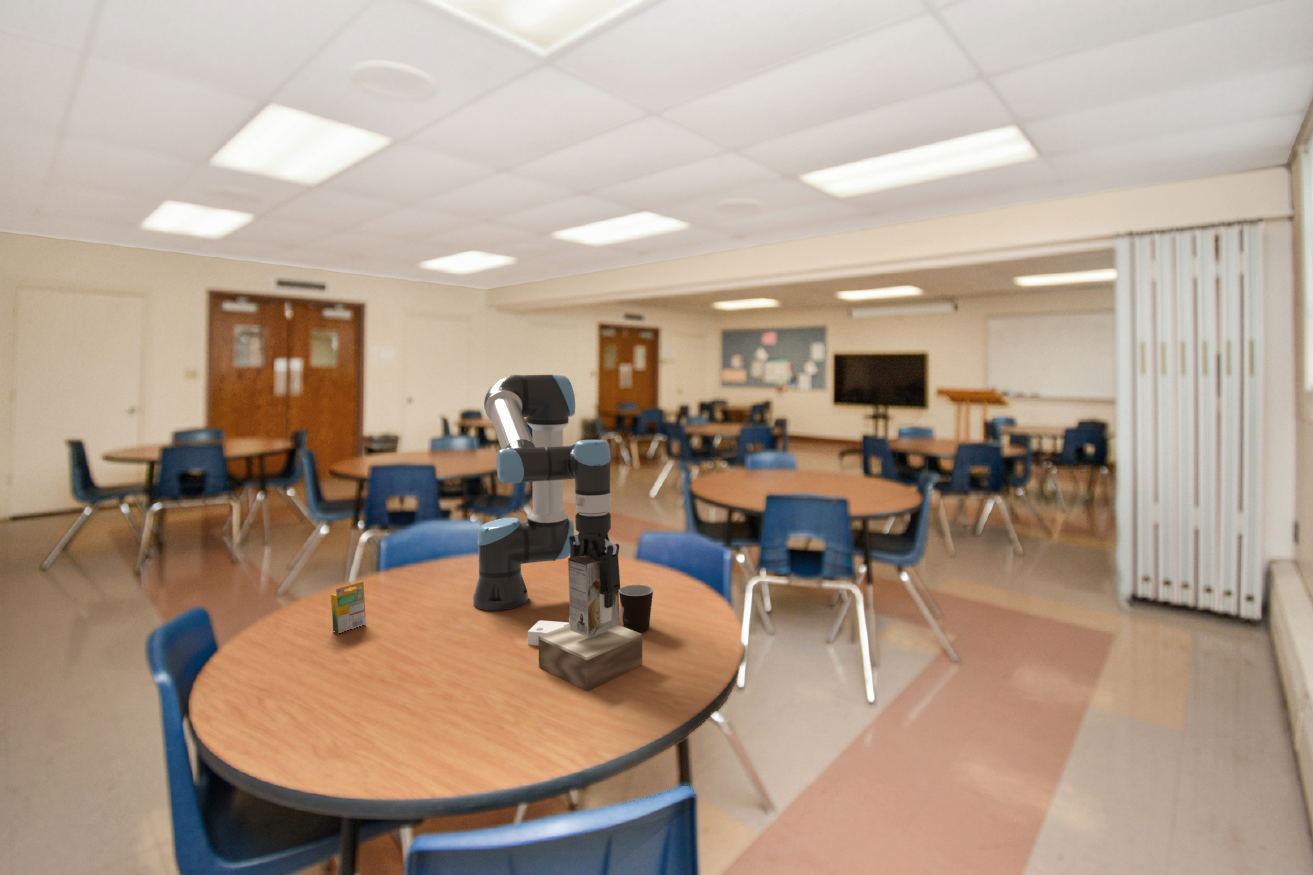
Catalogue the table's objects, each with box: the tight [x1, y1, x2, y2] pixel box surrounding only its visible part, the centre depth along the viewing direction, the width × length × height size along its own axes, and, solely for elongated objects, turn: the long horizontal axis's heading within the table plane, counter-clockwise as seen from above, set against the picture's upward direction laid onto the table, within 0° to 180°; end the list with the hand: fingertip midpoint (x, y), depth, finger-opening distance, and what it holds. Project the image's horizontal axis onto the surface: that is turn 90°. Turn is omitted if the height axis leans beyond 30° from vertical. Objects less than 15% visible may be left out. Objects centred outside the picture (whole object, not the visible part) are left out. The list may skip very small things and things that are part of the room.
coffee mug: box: [619, 584, 654, 634], centre depth 158 cm, size 12×9×10 cm
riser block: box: [537, 624, 643, 692], centre depth 136 cm, size 16×16×7 cm
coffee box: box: [567, 555, 620, 637], centre depth 134 cm, size 9×6×16 cm
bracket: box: [527, 616, 570, 647], centre depth 150 cm, size 13×7×8 cm, turn 78°
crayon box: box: [330, 581, 367, 634], centre depth 158 cm, size 7×3×12 cm, turn 145°
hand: (594, 617), depth 134 cm, fingers closed on coffee box, 6 cm apart
